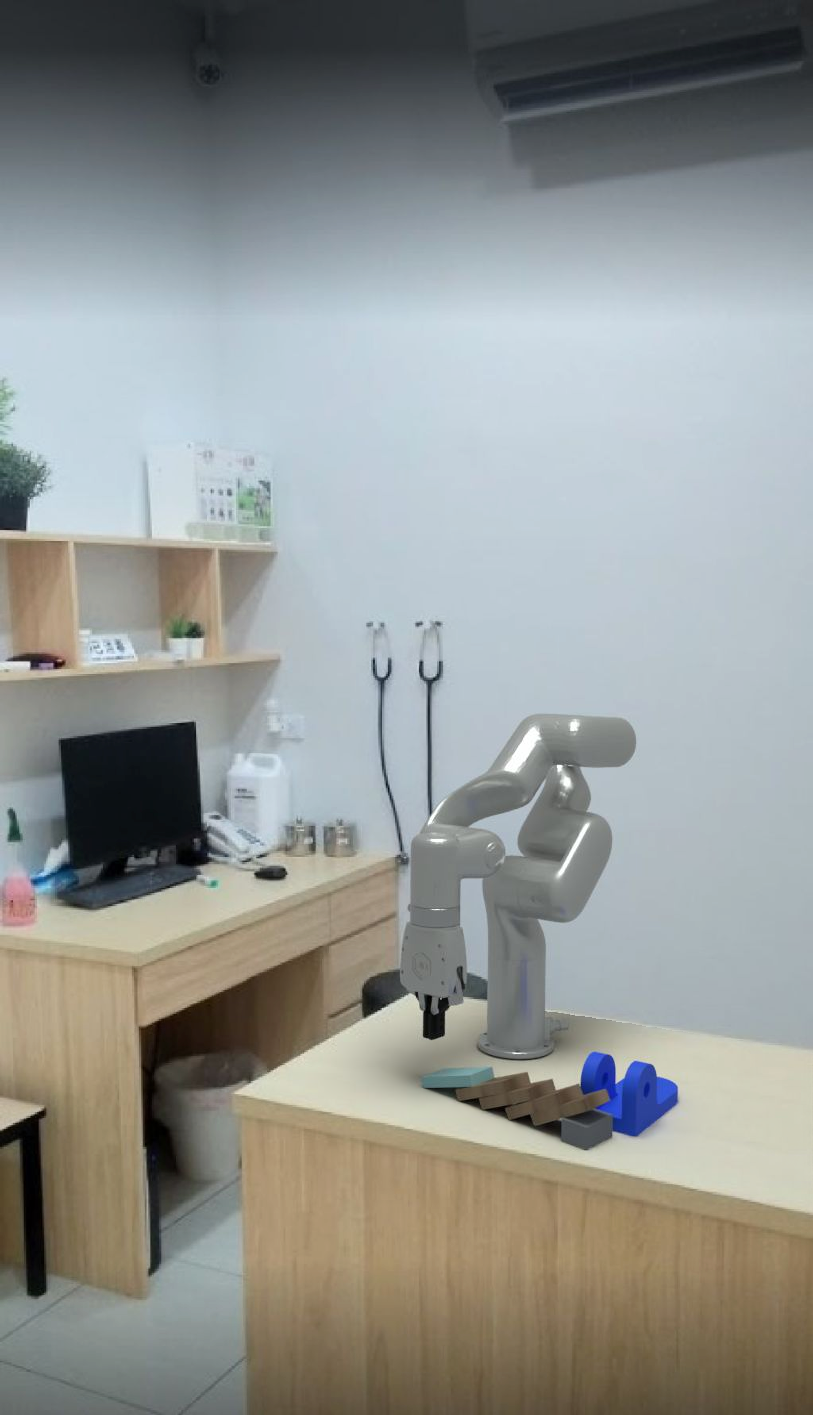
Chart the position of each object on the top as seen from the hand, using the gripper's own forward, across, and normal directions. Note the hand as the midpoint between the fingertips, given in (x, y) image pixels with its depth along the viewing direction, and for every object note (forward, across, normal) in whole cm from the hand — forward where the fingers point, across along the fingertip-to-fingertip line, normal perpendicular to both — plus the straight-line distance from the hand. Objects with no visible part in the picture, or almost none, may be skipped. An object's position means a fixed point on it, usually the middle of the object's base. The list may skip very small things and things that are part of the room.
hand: (433, 1036), depth 172 cm
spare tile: (+6, 0, 0) cm, 6 cm away
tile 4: (+6, +16, 0) cm, 18 cm away
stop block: (+7, +28, 0) cm, 29 cm away
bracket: (+8, +27, +14) cm, 31 cm away
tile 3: (+6, +11, 0) cm, 13 cm away
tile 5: (+6, +21, 0) cm, 22 cm away
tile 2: (+6, +7, 0) cm, 9 cm away
